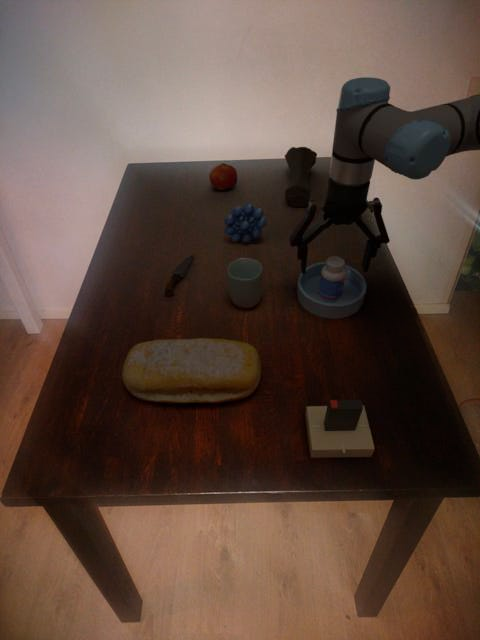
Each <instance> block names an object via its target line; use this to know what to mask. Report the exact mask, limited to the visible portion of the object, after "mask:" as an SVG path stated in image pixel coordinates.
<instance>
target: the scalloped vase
mask: <svg viewBox="0 0 480 640" xmlns="http://www.w3.org/2000/svg"><path fill="white" fill-rule="evenodd" d="M317 156H318V154H317V152H316V151H314V150H312V149H311V148H309V147H307V146H298V147H295V146H293V147H290V148H289V149H288V150H287V152H286V154H284V159H285V160H286V163H287V167H288V166H289V167H288V169H289V168H290V169H289V170H290V180H289V183H288V185H287V187H286V189H285V190H284V192H285V194H284V195H285V196H284V197H285V201H286V203H287V205H288V206H291V207H294V208H303V207H305V206H306V205H308V203H309V201H310V197H311V188H310V183H309V182H310V181H309V176H310V171H311V169H312V168H313V167H314V166H315V165H316V163H317Z"/></svg>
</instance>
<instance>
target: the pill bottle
mask: <svg viewBox="0 0 480 640" xmlns="http://www.w3.org/2000/svg"><path fill="white" fill-rule="evenodd" d="M325 262H326V265H325V266H324V267H323V268H322V271H321V278H320V285H319V292H318V293H319V296H320V297H321V298H322V299H323V300H325V301H329V302H333V301H337V300H338V299H340V297H341V295H342V290H343V285H344V280H345V276H346V271H345V269H344V265H346V263H345V259H344V258H343V257H341V256H339V255H332V256H329V257H327V258H326V260H325Z"/></svg>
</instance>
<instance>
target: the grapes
mask: <svg viewBox="0 0 480 640" xmlns="http://www.w3.org/2000/svg"><path fill="white" fill-rule="evenodd" d="M264 214H265V211H264V210H263V209H262V208H261V207H257V208H255V205H254V204H253V203H251V202H249V203H246V204H244V205H243V207H242V206H241V205H235V206H234V207H233V208H232V209H231V214H227V215H226V216H225V217H224V224H225V227H224V233H225V235H227V236H230V240H231V241H232V242H234V243H238V242H240V241H241V242H242V243H244V244H248V243H250V242H251V241H252V240H253V238H254V239H257V238H260V237H262V236H261V235H262V234H263V230H262V229H264V228H265V227H266V226H267V224H268V221H267V219H266V218H265V217H264V216H265V215H264Z"/></svg>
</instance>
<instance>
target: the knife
mask: <svg viewBox="0 0 480 640" xmlns="http://www.w3.org/2000/svg"><path fill="white" fill-rule="evenodd" d="M193 257H194V255H190V256H188V257H187V258H186V259H184V260H183V261H182V262H181V263H179V264H178V265H177V266H176V267H175V268H174V269H173V270H172V271H170V273H171V276H170V280H169V281H168V282H167V283H166V285H165V289H164V290H163V291H164V292H163V295H164V296H165V297H168V298H170V297H173V294H174V289H173V287H174V286H175V284H176V283H177V282H180V281H181V279H183V278H185V279H186V276H187V274H188V271H189V270H190V267H191V265H192V264H193Z"/></svg>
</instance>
